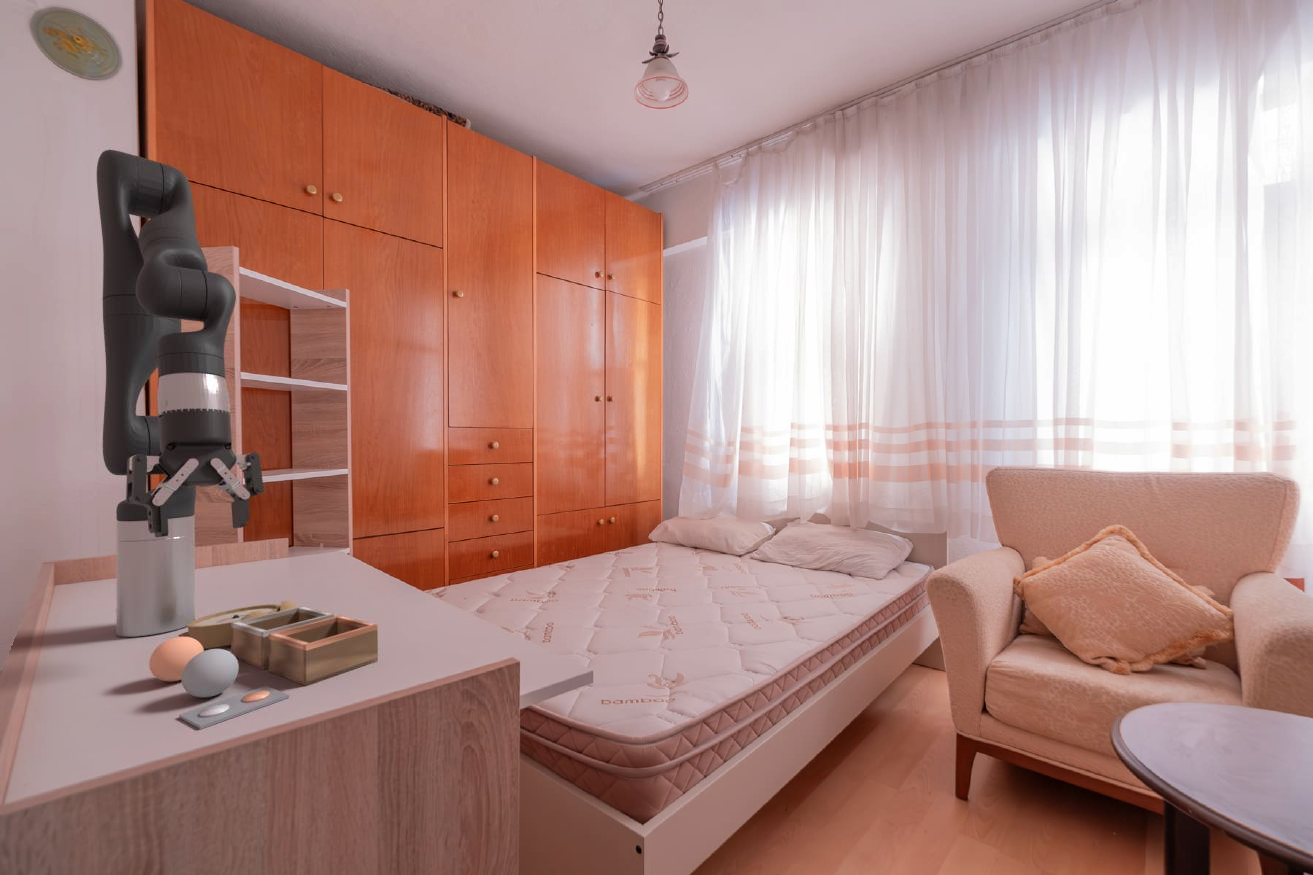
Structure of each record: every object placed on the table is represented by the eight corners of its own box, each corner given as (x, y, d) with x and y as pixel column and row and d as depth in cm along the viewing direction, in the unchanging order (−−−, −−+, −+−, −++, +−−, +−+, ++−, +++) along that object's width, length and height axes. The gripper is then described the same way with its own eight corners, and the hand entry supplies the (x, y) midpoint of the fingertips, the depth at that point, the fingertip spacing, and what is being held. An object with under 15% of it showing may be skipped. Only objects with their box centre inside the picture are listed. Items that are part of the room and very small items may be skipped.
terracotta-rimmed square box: (268, 671, 69) (268, 633, 69) (339, 649, 77) (339, 615, 77) (306, 685, 65) (306, 645, 65) (377, 660, 72) (377, 624, 72)
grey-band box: (231, 657, 74) (231, 622, 75) (301, 638, 82) (300, 606, 82) (263, 669, 70) (263, 632, 70) (334, 647, 77) (334, 614, 78)
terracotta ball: (142, 683, 66) (142, 640, 67) (194, 668, 71) (194, 628, 71) (159, 691, 64) (159, 647, 64) (211, 676, 68) (211, 634, 68)
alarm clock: (230, 607, 90) (318, 590, 88) (235, 638, 89) (324, 621, 88) (163, 630, 78) (263, 610, 77) (169, 665, 78) (269, 646, 77)
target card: (179, 717, 57) (179, 712, 57) (266, 688, 64) (266, 683, 64) (200, 729, 55) (200, 723, 55) (289, 697, 62) (288, 692, 62)
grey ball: (173, 699, 62) (173, 653, 62) (226, 682, 66) (226, 639, 66) (192, 709, 59) (192, 661, 59) (247, 691, 63) (247, 646, 64)
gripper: (242, 418, 84) (249, 527, 83) (114, 414, 72) (120, 542, 70) (267, 409, 80) (275, 523, 79) (136, 403, 68) (143, 537, 67)
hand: (202, 532), depth 75 cm, fingers open, 8 cm apart
